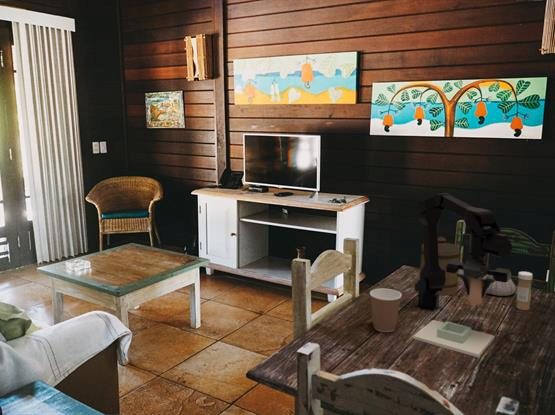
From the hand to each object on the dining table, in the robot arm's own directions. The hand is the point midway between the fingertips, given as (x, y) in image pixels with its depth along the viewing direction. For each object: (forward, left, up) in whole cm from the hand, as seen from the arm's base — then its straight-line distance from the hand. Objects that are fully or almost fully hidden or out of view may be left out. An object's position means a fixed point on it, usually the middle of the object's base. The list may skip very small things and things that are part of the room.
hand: (475, 296), depth 158 cm
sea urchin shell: (-4, +44, -12) cm, 46 cm away
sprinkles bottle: (+8, +32, -12) cm, 35 cm away
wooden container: (-24, +33, -12) cm, 43 cm away
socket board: (-3, -9, -12) cm, 15 cm away
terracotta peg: (0, 0, -2) cm, 2 cm away
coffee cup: (-24, -15, -12) cm, 31 cm away
